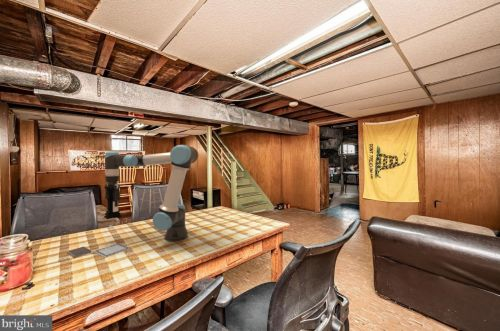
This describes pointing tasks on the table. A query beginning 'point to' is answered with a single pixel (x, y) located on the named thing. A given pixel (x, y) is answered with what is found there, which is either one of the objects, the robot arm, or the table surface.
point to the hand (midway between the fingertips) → (112, 210)
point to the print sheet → (111, 250)
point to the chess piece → (110, 205)
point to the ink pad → (79, 252)
